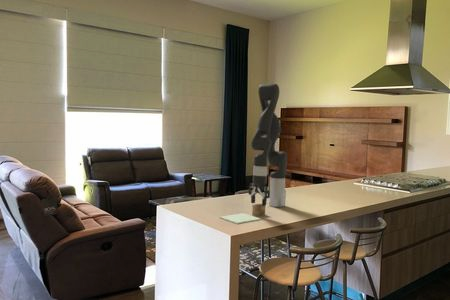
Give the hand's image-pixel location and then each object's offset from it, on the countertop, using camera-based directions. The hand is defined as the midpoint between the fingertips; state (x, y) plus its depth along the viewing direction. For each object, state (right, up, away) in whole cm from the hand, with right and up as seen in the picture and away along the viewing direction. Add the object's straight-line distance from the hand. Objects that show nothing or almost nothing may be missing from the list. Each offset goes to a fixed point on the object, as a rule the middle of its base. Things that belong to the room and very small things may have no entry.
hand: (258, 204), depth 206 cm
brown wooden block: (0, -6, +1) cm, 6 cm away
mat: (-10, -6, -9) cm, 15 cm away
